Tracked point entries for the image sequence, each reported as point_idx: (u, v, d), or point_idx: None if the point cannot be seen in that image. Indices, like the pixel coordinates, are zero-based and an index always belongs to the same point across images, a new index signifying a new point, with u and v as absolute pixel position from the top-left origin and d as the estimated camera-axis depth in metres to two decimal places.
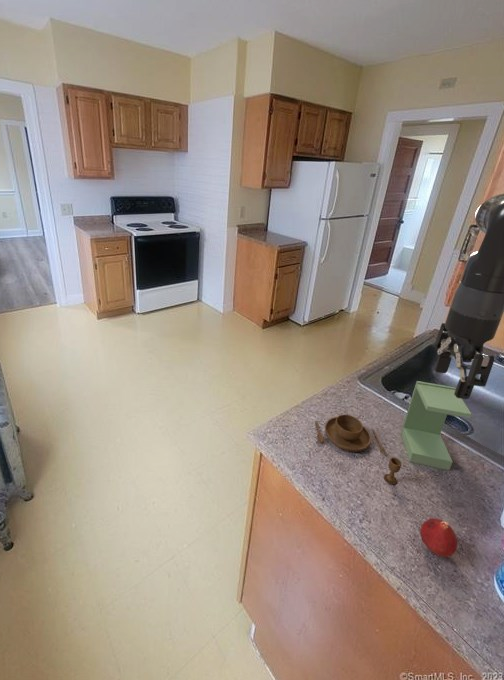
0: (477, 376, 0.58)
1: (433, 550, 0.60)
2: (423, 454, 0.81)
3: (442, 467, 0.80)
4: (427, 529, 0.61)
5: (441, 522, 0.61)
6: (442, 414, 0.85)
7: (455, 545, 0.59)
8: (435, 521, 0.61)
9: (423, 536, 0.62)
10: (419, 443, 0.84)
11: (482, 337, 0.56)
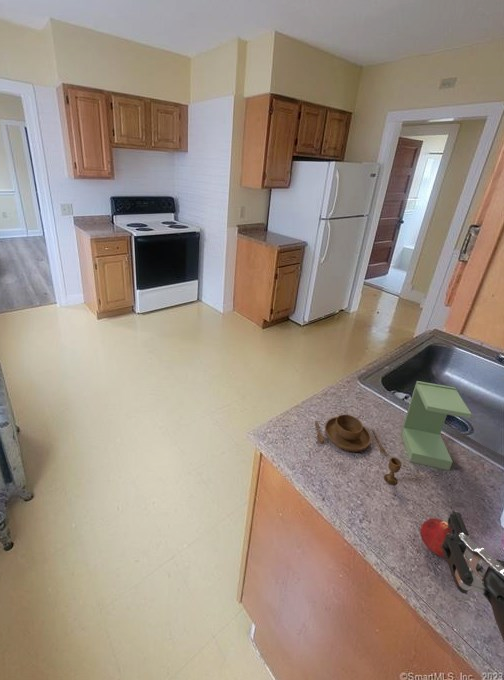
0: None
1: (433, 550, 0.60)
2: (423, 454, 0.81)
3: (442, 467, 0.80)
4: (427, 529, 0.61)
5: (441, 522, 0.61)
6: (442, 414, 0.85)
7: None
8: (435, 521, 0.61)
9: (423, 536, 0.62)
10: (419, 443, 0.84)
11: None
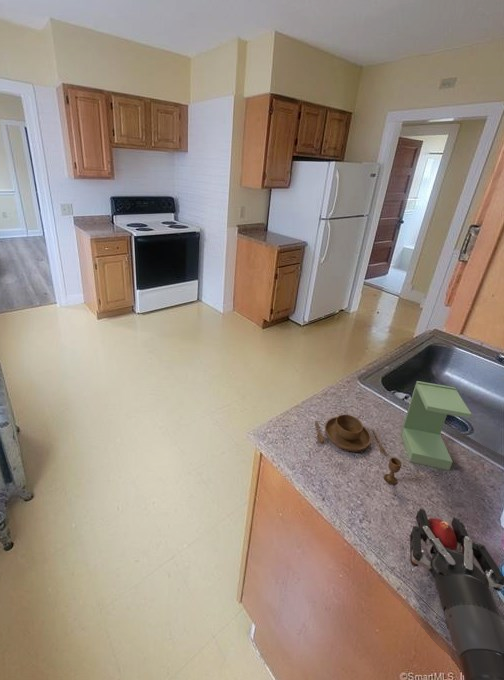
0: (472, 545, 0.57)
1: None
2: (423, 454, 0.81)
3: (442, 467, 0.80)
4: None
5: (441, 522, 0.61)
6: (442, 414, 0.85)
7: (455, 545, 0.59)
8: (435, 521, 0.61)
9: None
10: (419, 443, 0.84)
11: None
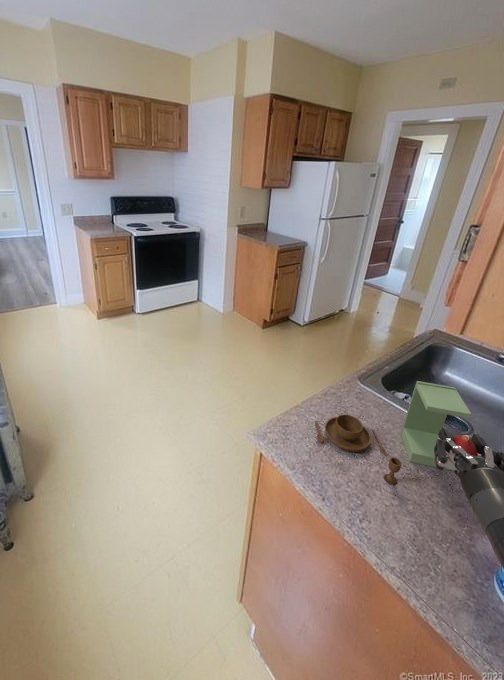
0: (492, 452, 0.63)
1: None
2: (423, 454, 0.81)
3: None
4: None
5: (462, 436, 0.66)
6: (442, 414, 0.85)
7: (476, 455, 0.64)
8: (457, 436, 0.67)
9: None
10: (419, 443, 0.84)
11: None
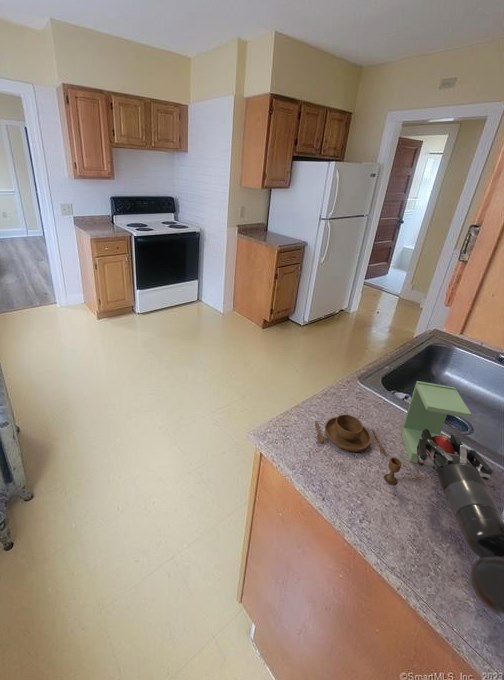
0: (466, 451, 0.72)
1: None
2: None
3: None
4: None
5: (442, 436, 0.76)
6: (442, 414, 0.85)
7: (453, 453, 0.74)
8: (437, 436, 0.76)
9: None
10: None
11: None
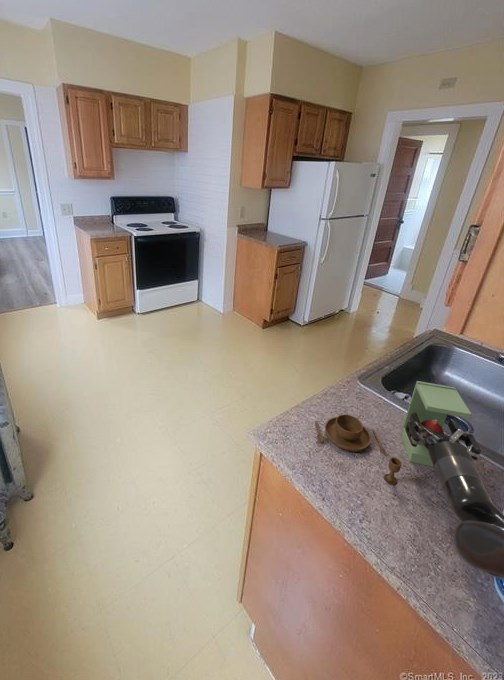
0: (462, 434, 0.77)
1: None
2: (423, 454, 0.81)
3: None
4: None
5: (432, 420, 0.82)
6: (442, 414, 0.85)
7: None
8: (428, 420, 0.82)
9: None
10: None
11: None
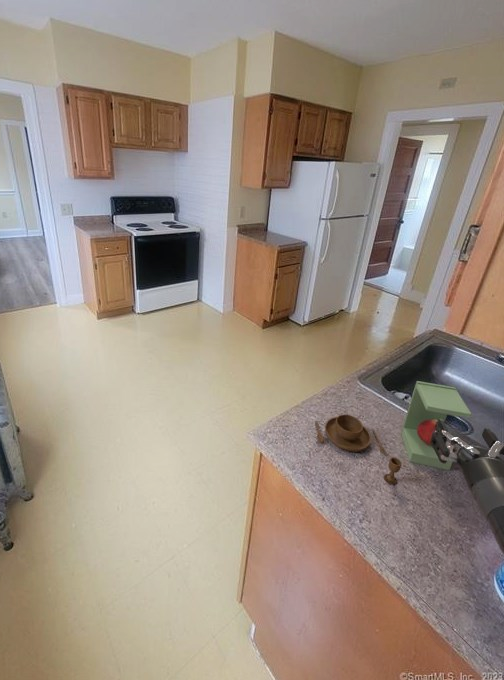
0: (502, 447, 0.62)
1: (426, 440, 0.81)
2: (423, 454, 0.81)
3: (442, 467, 0.80)
4: (422, 426, 0.82)
5: (432, 420, 0.82)
6: (442, 414, 0.85)
7: None
8: (428, 420, 0.82)
9: (419, 432, 0.83)
10: (419, 443, 0.84)
11: None
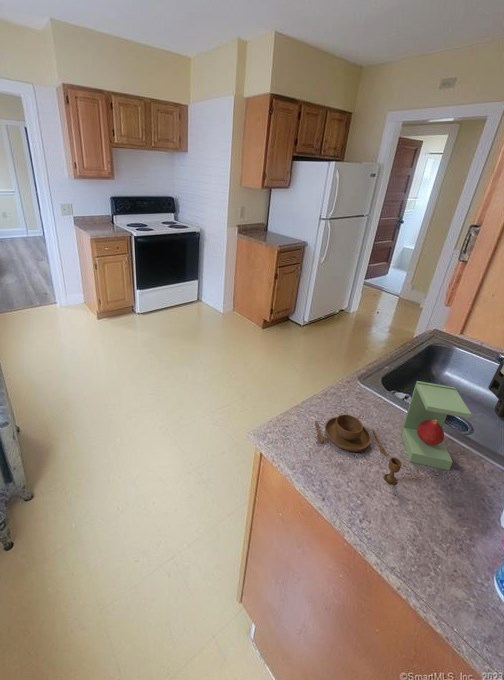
0: None
1: (426, 440, 0.81)
2: (423, 454, 0.81)
3: (442, 467, 0.80)
4: (422, 426, 0.82)
5: (432, 420, 0.82)
6: (442, 414, 0.85)
7: (442, 435, 0.80)
8: (428, 420, 0.82)
9: (419, 432, 0.83)
10: (419, 443, 0.84)
11: None
